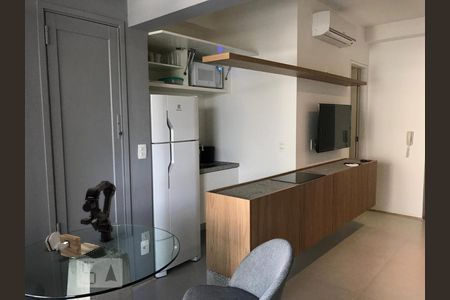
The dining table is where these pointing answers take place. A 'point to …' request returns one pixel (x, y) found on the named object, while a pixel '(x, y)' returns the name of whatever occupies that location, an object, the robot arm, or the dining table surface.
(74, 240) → the bearing stand
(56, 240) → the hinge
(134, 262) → the dining table surface
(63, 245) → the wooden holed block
